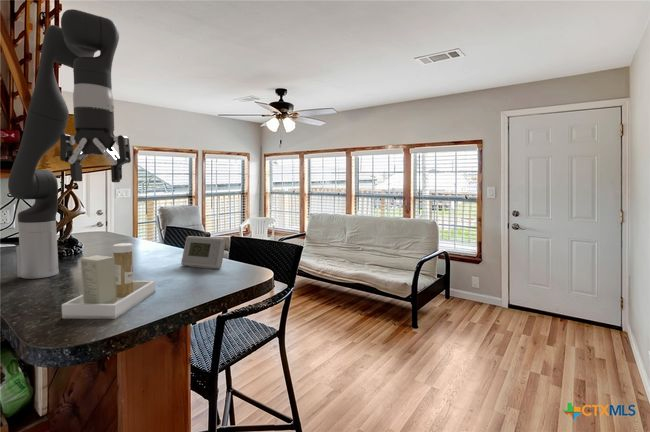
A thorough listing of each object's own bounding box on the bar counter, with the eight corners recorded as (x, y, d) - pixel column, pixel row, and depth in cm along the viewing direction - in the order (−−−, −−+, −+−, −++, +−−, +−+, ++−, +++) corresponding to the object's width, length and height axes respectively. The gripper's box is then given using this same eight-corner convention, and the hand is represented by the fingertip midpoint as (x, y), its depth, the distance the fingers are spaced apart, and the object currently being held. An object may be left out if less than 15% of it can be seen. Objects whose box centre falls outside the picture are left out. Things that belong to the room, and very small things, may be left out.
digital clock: (178, 266, 129) (177, 237, 128) (197, 261, 137) (197, 234, 136) (212, 272, 121) (212, 241, 120) (230, 266, 129) (230, 237, 128)
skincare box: (117, 307, 84) (116, 256, 83) (99, 313, 80) (97, 260, 79) (100, 303, 87) (98, 254, 86) (81, 309, 83) (79, 257, 82)
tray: (62, 318, 79) (61, 304, 78) (112, 291, 98) (112, 280, 98) (115, 318, 79) (114, 305, 79) (155, 291, 98) (155, 280, 98)
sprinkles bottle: (135, 295, 93) (133, 244, 92) (114, 298, 90) (113, 246, 89) (133, 291, 97) (131, 242, 95) (113, 293, 94) (111, 243, 93)
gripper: (48, 104, 75) (52, 181, 77) (117, 105, 76) (119, 182, 77) (73, 111, 83) (76, 181, 84) (135, 112, 83) (137, 182, 85)
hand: (96, 181), depth 81 cm, fingers open, 8 cm apart
